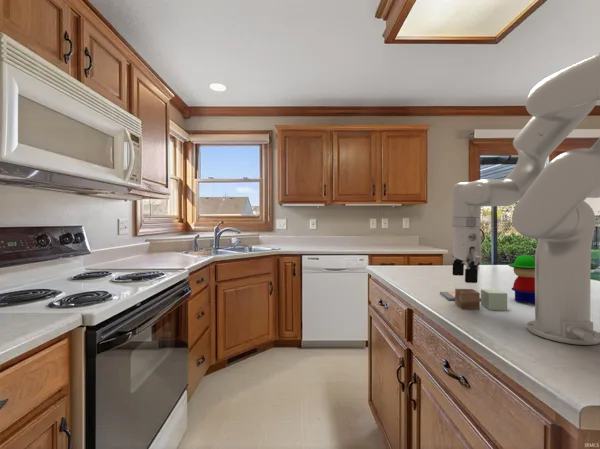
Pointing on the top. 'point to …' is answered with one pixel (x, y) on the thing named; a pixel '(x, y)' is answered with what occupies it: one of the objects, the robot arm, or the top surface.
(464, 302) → the walnut block
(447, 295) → the slate board
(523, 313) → the top surface
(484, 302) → the sage block
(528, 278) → the toy
